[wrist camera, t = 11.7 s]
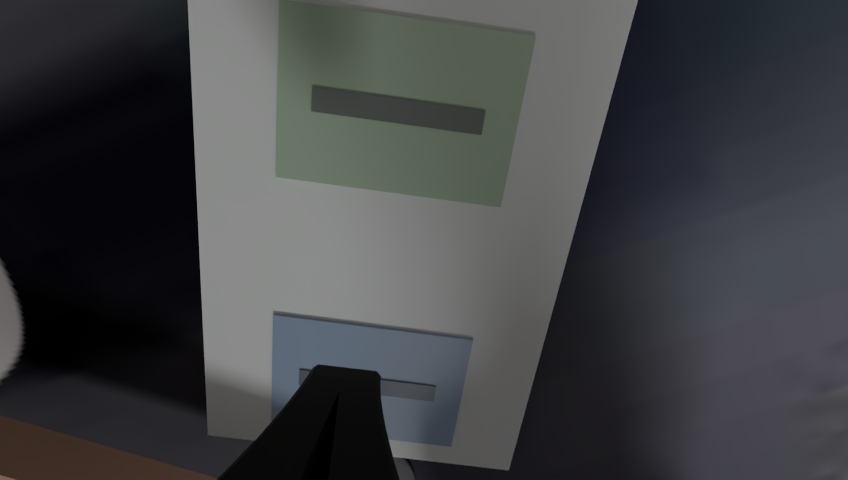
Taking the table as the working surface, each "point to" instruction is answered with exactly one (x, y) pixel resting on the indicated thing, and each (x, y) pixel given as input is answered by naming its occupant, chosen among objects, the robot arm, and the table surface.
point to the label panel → (393, 202)
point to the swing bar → (74, 458)
